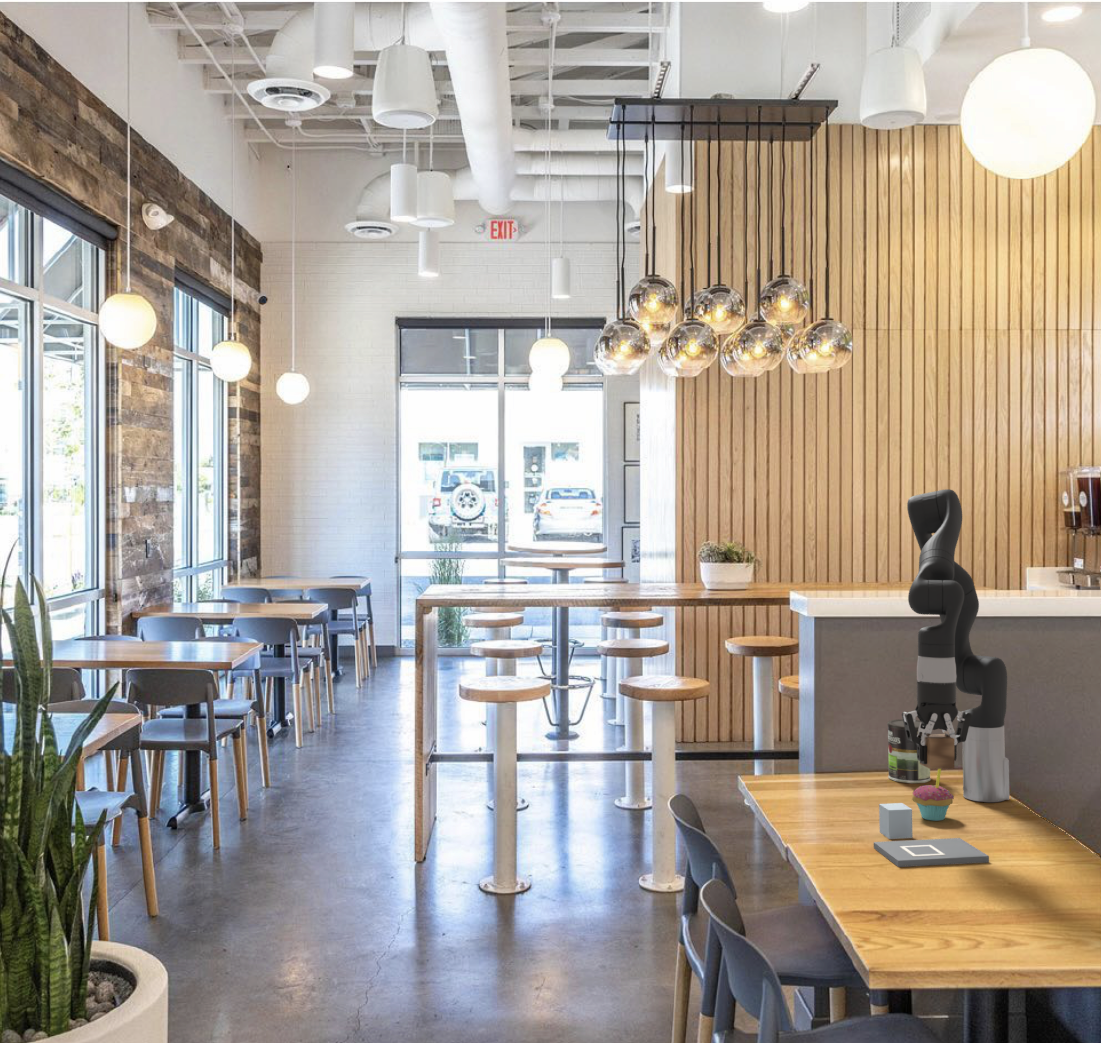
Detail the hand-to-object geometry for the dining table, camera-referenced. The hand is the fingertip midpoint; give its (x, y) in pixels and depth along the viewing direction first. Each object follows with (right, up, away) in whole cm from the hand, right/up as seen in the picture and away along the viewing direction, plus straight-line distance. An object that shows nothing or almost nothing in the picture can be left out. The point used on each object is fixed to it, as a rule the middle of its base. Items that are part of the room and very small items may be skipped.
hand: (936, 762), depth 220 cm
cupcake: (+6, -17, +20) cm, 27 cm away
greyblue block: (-6, -17, +7) cm, 19 cm away
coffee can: (+13, -16, +55) cm, 59 cm away
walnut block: (0, -1, 0) cm, 1 cm away
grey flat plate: (-4, -17, -6) cm, 18 cm away
